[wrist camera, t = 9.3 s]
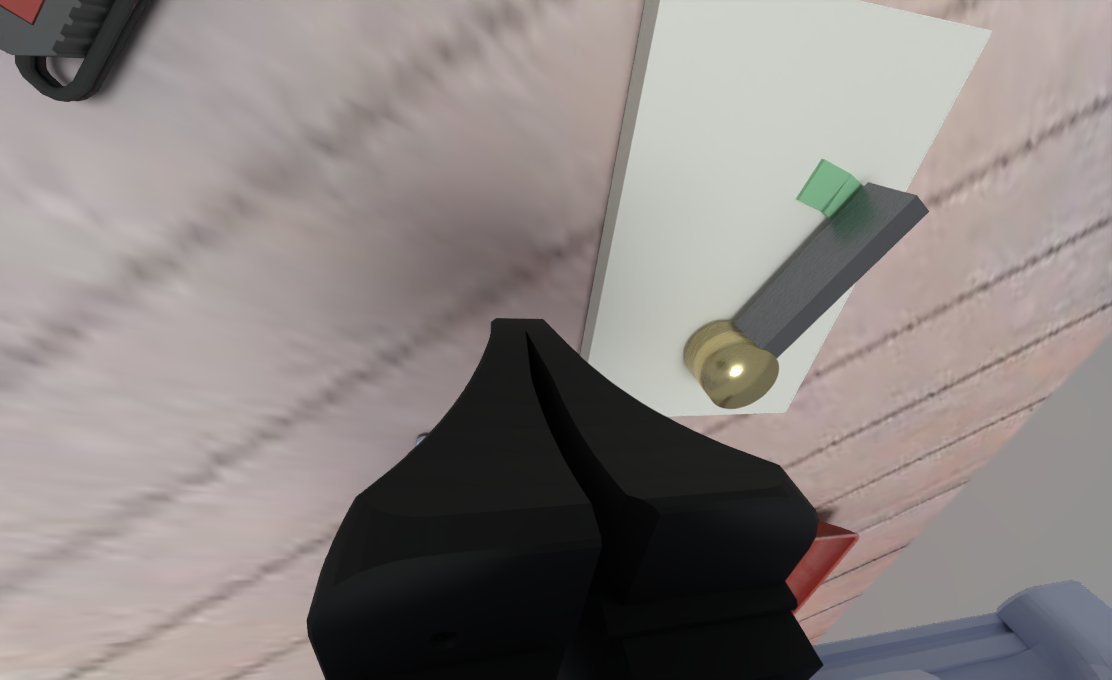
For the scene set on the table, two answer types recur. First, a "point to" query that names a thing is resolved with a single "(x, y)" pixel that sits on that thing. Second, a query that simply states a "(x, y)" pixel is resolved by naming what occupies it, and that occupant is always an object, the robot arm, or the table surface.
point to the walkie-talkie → (67, 40)
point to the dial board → (752, 169)
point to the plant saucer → (820, 561)
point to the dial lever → (799, 297)
